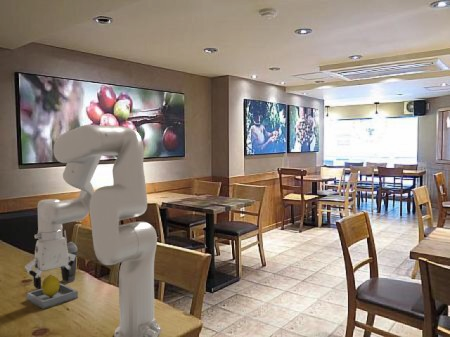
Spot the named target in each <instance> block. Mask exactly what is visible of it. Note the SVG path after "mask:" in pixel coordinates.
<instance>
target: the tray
mask: <svg viewBox="0 0 450 337" xmlns="http://www.w3.org/2000/svg"><path fill="white" fill-rule="evenodd" d="M59 284H60V287H59V291H58V292H57V294H55V295H54V296H53V297H51V298H50V297H49V296H46V295H45V294H44V293H43V291H42V288H41V289H36V290H32V291H29V292H26V301H28V302H29V303H32V305H35V306H36V307H39V308H40V309H42V310H46V309H49V308H51V307H54V306H58V305H61V304H64V303H68V302H70V301H73V300H76V299H79V293H78V290H76V289H74V288H72V287H70V286H68V285H65V284H63V283H61V282H59Z"/></svg>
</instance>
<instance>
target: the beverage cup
mask: <svg viewBox="0 0 450 337" xmlns="http://www.w3.org/2000/svg"><path fill="white" fill-rule="evenodd" d="M63 233H64V237H65V239H66V243H67V249H68V253H70V254H74V255H76V257H75V259H74V263H73V264H72V266H71V268H70V269H69V281H65V280H63V279H62V278H61V280H62V283H72V282H74V281H76V271H77V258H78V252H79V251H78V250H79V249H78V246H77V245H76V244H75V243H74V242H73V241H68V240H67V239H68V238H67V233H66V230H64V231H63ZM68 258H69V260H70V257H68ZM62 268H63V267H60V271H61V274H62Z"/></svg>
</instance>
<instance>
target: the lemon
mask: <svg viewBox="0 0 450 337" xmlns="http://www.w3.org/2000/svg"><path fill="white" fill-rule="evenodd" d="M59 287H60V280H59V278H58V277H57V276H55V275H53V274H49V275H48V276H46V277H45V278H44V279H43V281H42V282H41V289H42V291H43V293H44V294H45V295H46V296H49V297H50V298H51V297H53V296H54V295H55V294H57V292H58V291H59Z"/></svg>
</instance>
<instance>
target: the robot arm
mask: <svg viewBox="0 0 450 337" xmlns="http://www.w3.org/2000/svg"><path fill="white" fill-rule="evenodd" d="M144 151H145V146H144V141H143V139H142V137H141V135H140V133H138V132H137V130H135V129H133V128H131V127H127V126H120V125H119V126H118V125H99V124H98V125H97V124H86V125H85V124H84V125H81V126H78V127H76V128H73V129H71V130H68V131H66V132H64V133H61V135H59V136H58V137H57V138H56V140H55V142H54V144H53V155H54V158H55V159H56V160H57V162H59V163H62V164H66V165H65V167H64V169H63V170H64V171H63V172H62V178H63V180H64V181H65V183H66V184H68V185H69V186H71V187H72V188H74V189H78V190H80V192H79V194H78V196H77V198H71V199H64V200H60V199H57V198H48V199H47V198H46V199H41V200H39V201H38V203H37V228H38V230H37V234H34V239H38V240H36V243H35V249H34V259H32V260H31V261H30V262H28V263H27V264H25V266H24V269H25V271H26V272H27V274H28V275H30V276H31V277H33V287H34V288H35V289H36V290H39V289H42V278H41V275H42V273H43V272H47V271H48V272H49V271H51V270H55V269H56V270H57V269H61V267H63V268H62V273H61V280H62V279H63V280H65V281H69V269H70V268H71V266H72V264H73V263H74V259H75V257H76V255H74V254H70V253H68V249H67V243H66V239H65V236H63V224H66V223H72V222H79V221H82V220H85V218H87V216H90V226H91V235H92V243H93V244H92V245H93V250H94V253H95V256H96V258H97V260H98V261H99V262H100V263H101V264H102V265H105V266H113V265H117V264H121V265H120V268H119V272H118V293H119V294H118V296H119V297H118V300H119V301H118V302H119V325H118V326H117V327H116V328H115V330H114V332H113V336H114V337H159V335H160V334H161V333H162V328H161V326H160V324H159V323H158V322H157V318H155V255H156V250H157V244H158V236H157V235H158V234H157V231H156V229H155V227H154V226H153V225H152V224H151V223H149V222H146V221H132V222H129V223H124V224H121V225H120V224H119V222H120V221H123V220H127V219H128V220H129V219H133V218H136V217H139V216H142V215H143V214H145V212H146V211H147V209H148V194H147V186H146V178H145V177H146V176H145V170H144V154H145V152H144ZM103 156H105V157H106V156H107V157H108V156H109V157H110V156H117V157H116V159H115V161H114V164H113V165H112V166H113V167H112V171H111V172H112V179H113V182H112V183H113V185H104V186H101V187H99V188H96V189H95V190H94V187H93V184H92V182H91V180H92V179H93V177H94V174H95V172H96V170H97V167H98V165H99V163H100V161H101V158H102V157H103ZM68 257H70V260H69V258H68ZM33 267H34V270H33ZM63 280H62V281H63Z"/></svg>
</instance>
